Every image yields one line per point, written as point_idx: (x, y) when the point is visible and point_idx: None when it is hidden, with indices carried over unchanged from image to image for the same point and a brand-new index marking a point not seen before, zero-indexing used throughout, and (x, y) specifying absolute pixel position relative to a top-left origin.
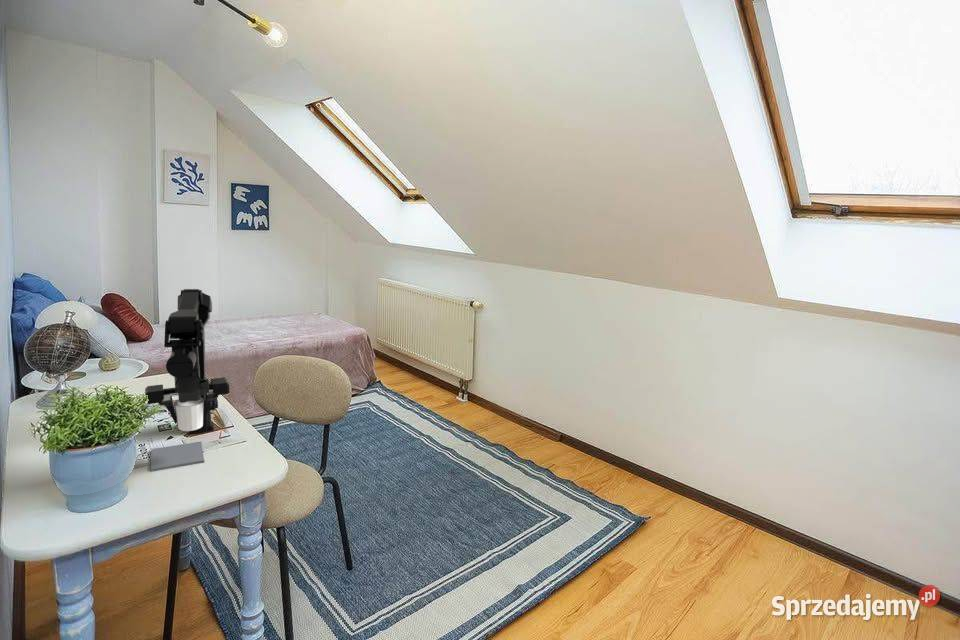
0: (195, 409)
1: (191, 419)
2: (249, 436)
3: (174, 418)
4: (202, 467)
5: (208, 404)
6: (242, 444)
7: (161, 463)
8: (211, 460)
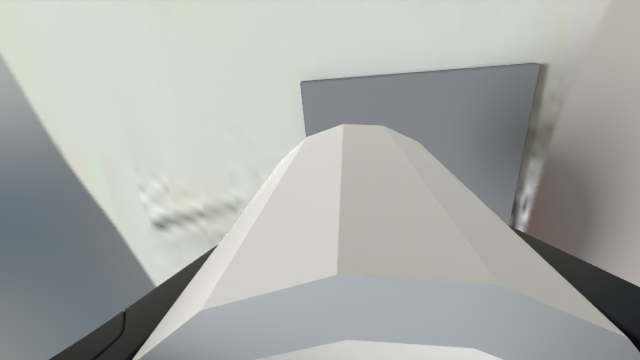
0: (261, 242)
1: (345, 154)
2: (150, 257)
3: (532, 245)
4: (306, 26)
5: (74, 357)
6: (163, 201)
7: (485, 112)
8: (271, 91)
